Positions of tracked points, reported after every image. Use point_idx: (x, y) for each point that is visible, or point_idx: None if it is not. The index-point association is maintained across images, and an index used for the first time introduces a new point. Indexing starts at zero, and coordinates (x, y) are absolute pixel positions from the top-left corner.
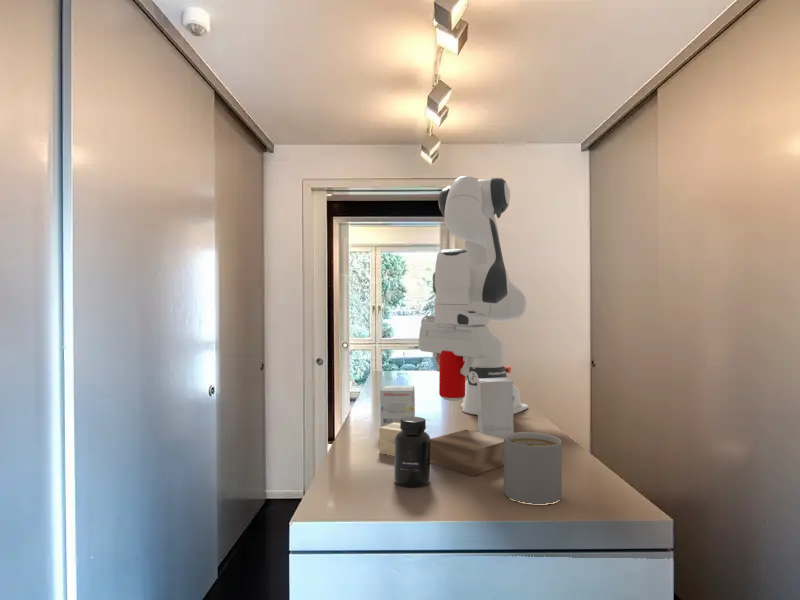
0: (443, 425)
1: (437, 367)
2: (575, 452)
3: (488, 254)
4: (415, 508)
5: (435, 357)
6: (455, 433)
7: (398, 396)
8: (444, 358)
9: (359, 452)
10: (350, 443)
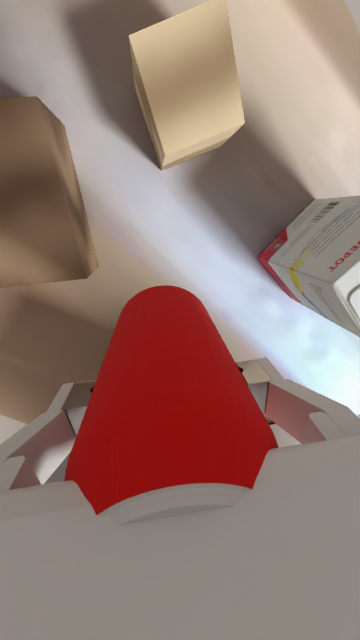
0: (263, 352)
1: (265, 368)
2: (3, 406)
3: None
4: None
5: (321, 412)
6: (63, 225)
7: (356, 241)
8: (156, 391)
9: (250, 9)
10: (329, 62)
